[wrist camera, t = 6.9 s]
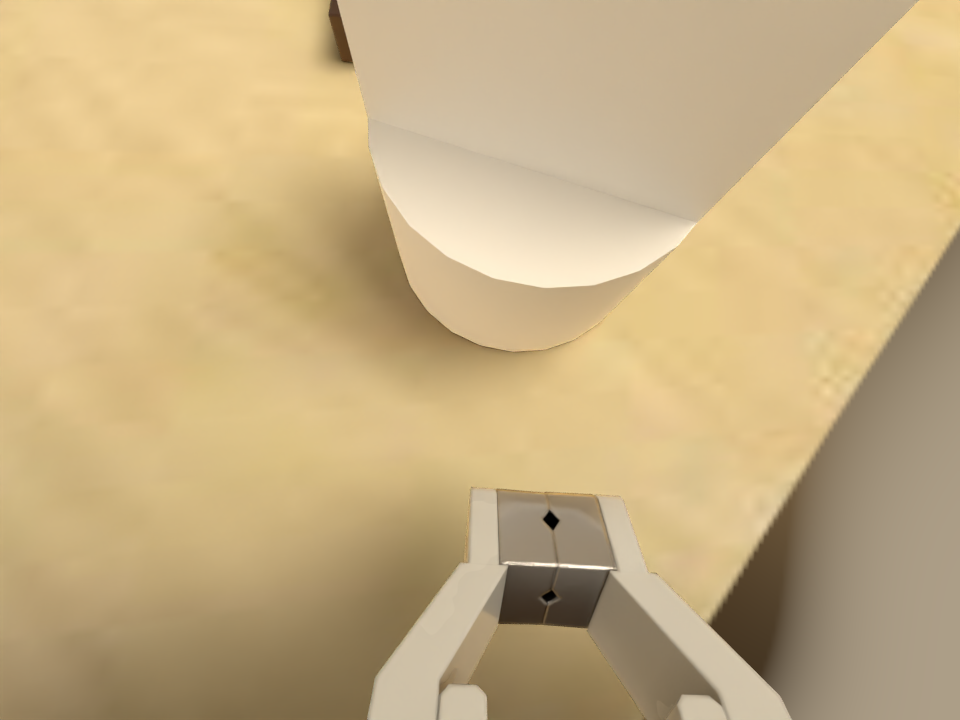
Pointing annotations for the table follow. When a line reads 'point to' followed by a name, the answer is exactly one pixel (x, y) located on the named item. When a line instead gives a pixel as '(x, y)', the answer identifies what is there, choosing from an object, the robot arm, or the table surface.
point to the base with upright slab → (577, 137)
